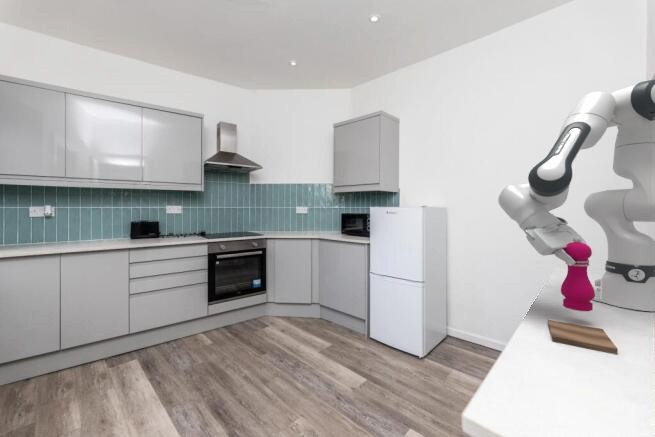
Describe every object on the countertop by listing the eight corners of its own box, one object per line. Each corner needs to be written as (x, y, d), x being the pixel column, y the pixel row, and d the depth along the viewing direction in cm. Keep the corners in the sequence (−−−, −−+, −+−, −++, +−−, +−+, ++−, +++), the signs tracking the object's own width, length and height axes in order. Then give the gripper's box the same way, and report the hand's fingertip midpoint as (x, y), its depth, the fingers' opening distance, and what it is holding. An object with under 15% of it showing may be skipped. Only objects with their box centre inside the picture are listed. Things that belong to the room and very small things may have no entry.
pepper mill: (602, 312, 76) (601, 237, 75) (570, 311, 77) (570, 238, 77) (583, 303, 83) (583, 235, 82) (555, 302, 84) (554, 235, 84)
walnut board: (547, 323, 78) (547, 319, 78) (602, 333, 72) (602, 328, 72) (552, 341, 67) (552, 336, 67) (617, 354, 61) (617, 349, 61)
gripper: (529, 220, 81) (570, 259, 73) (567, 218, 90) (607, 253, 82) (513, 234, 85) (550, 273, 77) (550, 232, 94) (587, 266, 86)
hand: (580, 263), depth 79 cm, fingers closed on pepper mill, 5 cm apart
